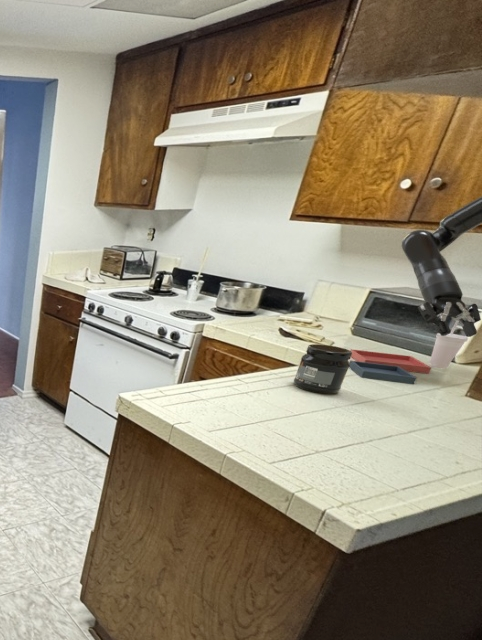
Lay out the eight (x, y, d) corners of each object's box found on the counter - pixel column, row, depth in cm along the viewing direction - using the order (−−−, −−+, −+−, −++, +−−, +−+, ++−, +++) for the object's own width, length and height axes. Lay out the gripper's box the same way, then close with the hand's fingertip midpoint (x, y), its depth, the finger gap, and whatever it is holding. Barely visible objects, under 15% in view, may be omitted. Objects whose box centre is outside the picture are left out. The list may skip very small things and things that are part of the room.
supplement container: (335, 386, 137) (350, 347, 133) (342, 397, 129) (359, 356, 125) (290, 379, 143) (303, 341, 138) (294, 389, 135) (308, 349, 130)
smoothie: (439, 363, 144) (460, 319, 139) (459, 370, 138) (483, 324, 133) (416, 362, 145) (436, 318, 140) (436, 369, 139) (458, 323, 134)
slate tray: (396, 372, 151) (399, 366, 150) (413, 384, 141) (416, 377, 140) (347, 366, 156) (350, 360, 155) (361, 377, 146) (363, 370, 145)
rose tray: (408, 361, 162) (411, 356, 161) (428, 373, 150) (431, 367, 149) (348, 354, 169) (350, 349, 168) (363, 365, 157) (365, 359, 156)
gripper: (424, 279, 140) (444, 327, 134) (478, 280, 138) (501, 329, 132) (401, 293, 147) (419, 340, 140) (453, 295, 145) (473, 342, 139)
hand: (459, 334), depth 136 cm, fingers closed on smoothie, 6 cm apart
